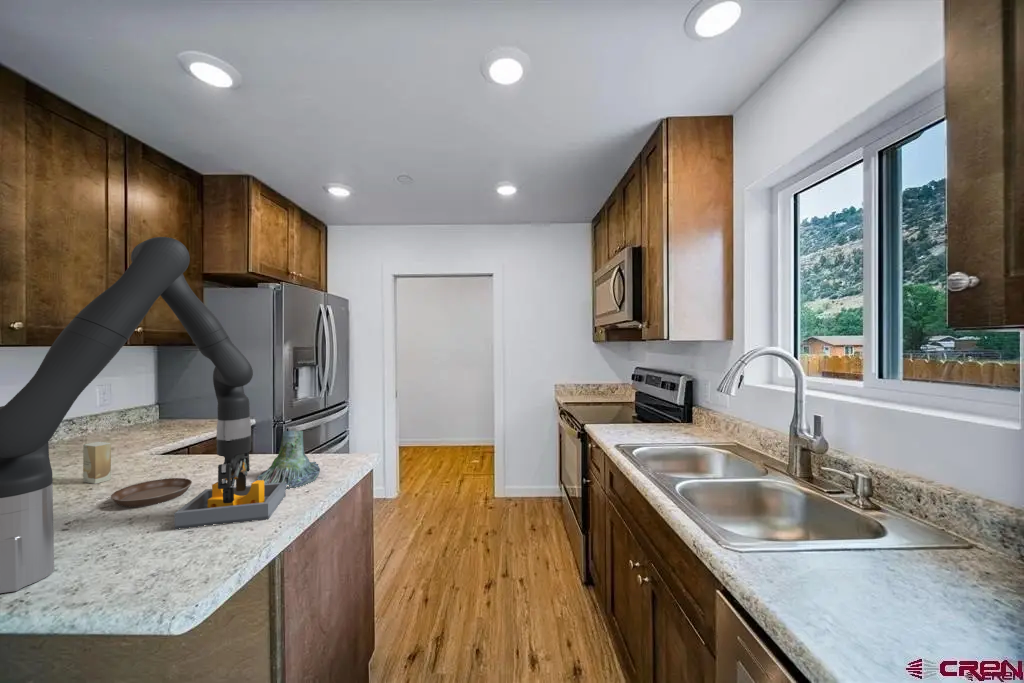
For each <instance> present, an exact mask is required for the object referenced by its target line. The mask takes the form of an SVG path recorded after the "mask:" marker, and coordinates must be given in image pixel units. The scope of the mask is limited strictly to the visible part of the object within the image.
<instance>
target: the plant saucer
mask: <svg viewBox="0 0 1024 683" xmlns="http://www.w3.org/2000/svg"><path fill="white" fill-rule="evenodd" d="M192 483H193V482H192V480H191V479H189V478H184V477H182V478H181V477H173V478H170V477H169V478H160V479H153V480H149V481H148V480H147V481H144V482H139V483H135V484H132V485H128V486H125V487H123V488H120V489H118V490H116V491H114V492H113V493H111V495H110V498H111V500H113V502H114V503H115V504H117V505H118V506H121V507H124V508H142V507H148V506H153V505H159V504H162V502H163V503H166V502H169V501H172V500H174V499H177V498H180V497H181V496H183V494H185V493H186V492H187V491H188V490H189V488H190V487H191V485H192ZM158 503H159V504H158Z"/></svg>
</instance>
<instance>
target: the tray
mask: <svg viewBox="0 0 1024 683" xmlns="http://www.w3.org/2000/svg"><path fill="white" fill-rule="evenodd" d="M250 489H251V484H250V485H249V484H248V485H246V489H245V490H244V491H236V486H234V494H235V495H238V496H244V495H247V494H248V493H249V491H250ZM286 491H287V490H286V485H285V482H281V483H271V484H264V499H265V502H262V503H252V504H243V505H233V506H223V507H213V508H208V499H210V498H211V497H212V488H210V489H209V488H206V489H204V490H203V491H201V492H200V493H199V494H198V495H196V496H195V497H193V499H191V500H190V501H188V502H186V504H185V505H183V506H182V507H181V508H179V509H178V510H176V512H174V530H175V529H178V530H180V529H179V528H187V529H190V528H189V527H196V528H199V527H198V526H204V525H213V524H223V523H232V524H234V523H233V522H240V523H245V522H244V521H249V522H253V521H252V520H258V521H266V519H267V520H269V519H270V518H271V516H272V515H273V513H275V511H276V510H277V508H278V507H279V506H280V504H281V503H282V502H281V501H283V500H284V499H285V498H286V496H287V494H286V493H287V492H286ZM283 498H284V499H283ZM278 505H279V506H278ZM223 525H224V524H223Z"/></svg>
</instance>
